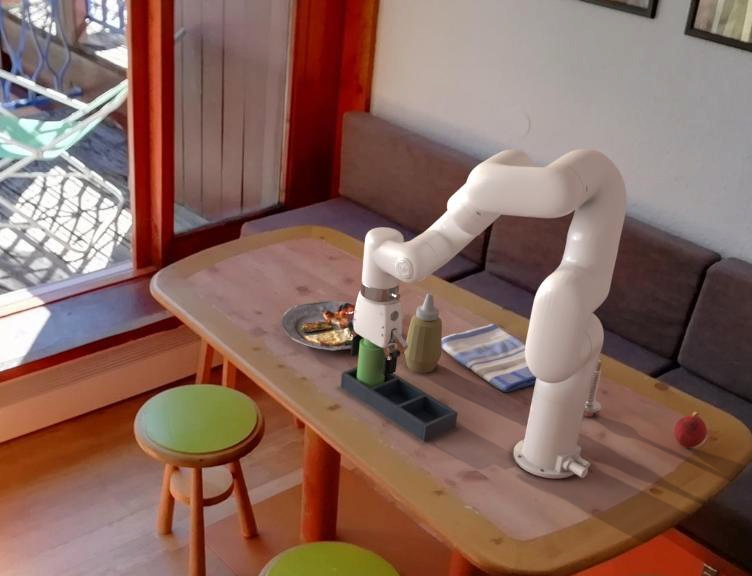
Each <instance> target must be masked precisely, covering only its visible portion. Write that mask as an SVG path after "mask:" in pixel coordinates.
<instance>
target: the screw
mask: <svg viewBox="0 0 752 576" xmlns="http://www.w3.org/2000/svg"><path fill="white" fill-rule="evenodd" d="M601 360H602V359H600V358H598V361H597V364H596V367H595V370H594V373H593V377H592V380H591V384H590V389H589V393H588V397H587V400H586V405H585V409H584V414H583V417H587V418H588V417H593V416H594V413H599V412H600V411H601V409H602V405H601V403H600V402H599V401H598V400H596V397H597V392H598V389H599V384H600V379H601V376H602V375H601V374H602V368H601V367H602V361H601Z"/></svg>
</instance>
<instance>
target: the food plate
mask: <svg viewBox="0 0 752 576" xmlns="http://www.w3.org/2000/svg"><path fill="white" fill-rule="evenodd" d="M355 306H356V303H354V302H353V303H352V302H351V303H350V302H346V301H335V300H326V301H325V300H324V301H318V302H309V303H303V304H297V305H294V306H292V307H290V308H289V309H287V310H286V311H285V312H284V313H283V315H282V316H281V318H280V326H281V328H282V330H283V331H284V332H285V333H286V335H287V336H288V337H289V338H290V339H291V340H292V341H295V342H297V343H299V344H302V345H305V346H306V347H310V348H314V349H319V350H326V351H334V352H335V351H341V350H351V344H352V338H351V337H350V333H351V332H350V330H349V328H348V322H347V318H346V313H348V312H351V311H355Z"/></svg>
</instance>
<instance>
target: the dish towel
mask: <svg viewBox="0 0 752 576" xmlns="http://www.w3.org/2000/svg"><path fill="white" fill-rule="evenodd" d="M525 345H526V343H524V342H522V341H521V340H520V339H518V338H516V337H515V336H513V335H511V334H509V333H507V332H506V331H505V330H503V329H501V328H500V327H499V326H498V324H496V323H490V324H488V325H484V326H480V327H476V328H472V329H468V330H466V331H461V332H458V333H452V334H448V335H446V336H444V337H442V342H441V350H443V351H444V352H446V353H447V354H448V355H449V356H451V357H452V358H454V360H456V362H458V363H460V364H461V365H463V366H464V367H466V368H467V369H469V370H470V371H471V372H473V373H474V374H475V375H477V376H478V377H480V378H481V379H483V380H485V381H486V382H488V383H489V384H490V385H492V386H494V387H495V388H496V389H498V390H500V391H501V392H504V393H508V392H512V391H515V390H518V389H522V388H526V387H530V386H533V385H534V386H535V383H536V377H535V376H534V375H533V374H532V373H531V371H530V370H529V368H528V366H527V363H526V359H525Z"/></svg>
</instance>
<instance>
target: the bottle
mask: <svg viewBox="0 0 752 576" xmlns="http://www.w3.org/2000/svg"><path fill="white" fill-rule="evenodd" d="M384 358H386V355H385V353H384V350H383V348H381V347H379V346H377V345H376V344H374V343H372V342H370V341H369V340H368V339H366V338H363V339H361V341H360V346H359V355H358V359H357V367H358V369H357V380H358V381H360V382H361V383H363V384H365V385H366V386H368V387H369V388H372V387H374V386H377V385H379V384H382V383H384V380H385V376H384V375H383V363H384Z"/></svg>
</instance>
